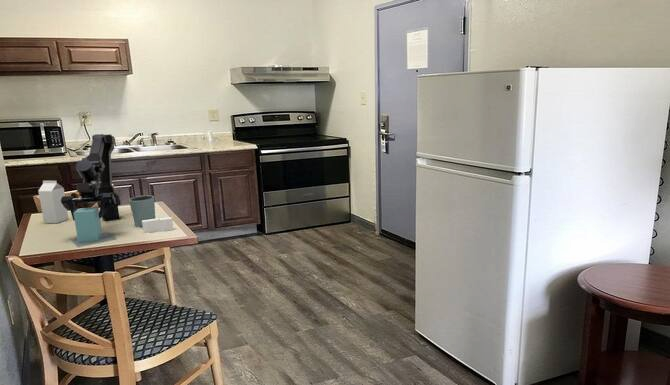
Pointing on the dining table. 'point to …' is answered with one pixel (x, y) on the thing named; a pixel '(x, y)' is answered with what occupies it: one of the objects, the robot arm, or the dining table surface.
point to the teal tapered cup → (142, 209)
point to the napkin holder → (157, 225)
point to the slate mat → (104, 238)
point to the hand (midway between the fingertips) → (86, 219)
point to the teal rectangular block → (88, 224)
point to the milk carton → (52, 202)
